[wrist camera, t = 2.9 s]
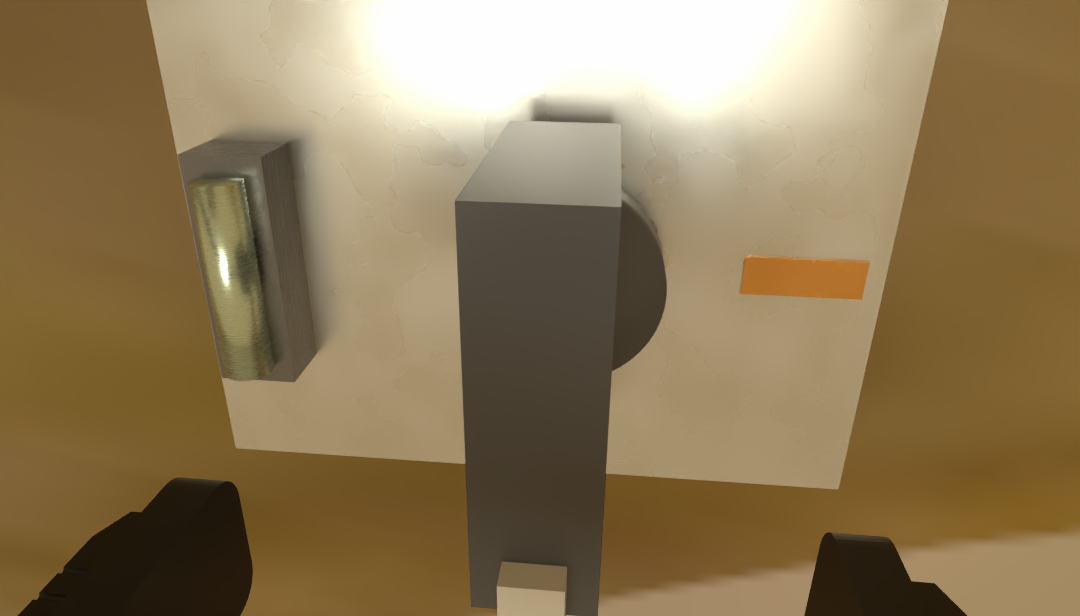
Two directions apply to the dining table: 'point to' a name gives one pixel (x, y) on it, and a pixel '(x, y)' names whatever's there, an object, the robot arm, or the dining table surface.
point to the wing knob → (547, 355)
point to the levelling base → (646, 175)
